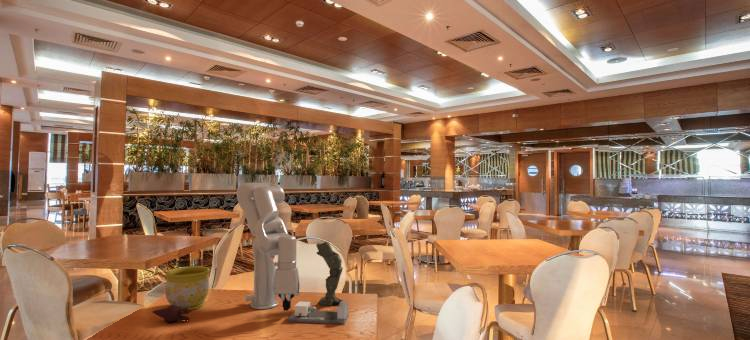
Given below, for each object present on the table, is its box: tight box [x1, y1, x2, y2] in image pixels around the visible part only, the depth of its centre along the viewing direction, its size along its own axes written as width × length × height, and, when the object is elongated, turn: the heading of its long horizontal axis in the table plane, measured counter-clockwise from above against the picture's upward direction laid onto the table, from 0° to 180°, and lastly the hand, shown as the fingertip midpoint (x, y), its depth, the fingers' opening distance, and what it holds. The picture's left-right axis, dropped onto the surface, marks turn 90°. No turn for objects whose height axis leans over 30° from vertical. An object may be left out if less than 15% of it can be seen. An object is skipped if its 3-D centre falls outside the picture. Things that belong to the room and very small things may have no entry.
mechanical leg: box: [315, 240, 344, 307], centre depth 180 cm, size 14×7×30 cm, turn 84°
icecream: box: [152, 304, 190, 323], centre depth 155 cm, size 7×7×15 cm
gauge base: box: [287, 300, 350, 325], centre depth 160 cm, size 23×10×6 cm, turn 84°
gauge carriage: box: [294, 301, 317, 316], centre depth 160 cm, size 8×8×4 cm
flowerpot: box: [164, 265, 211, 311], centre depth 173 cm, size 18×18×16 cm
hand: (286, 309), depth 161 cm, fingers closed
